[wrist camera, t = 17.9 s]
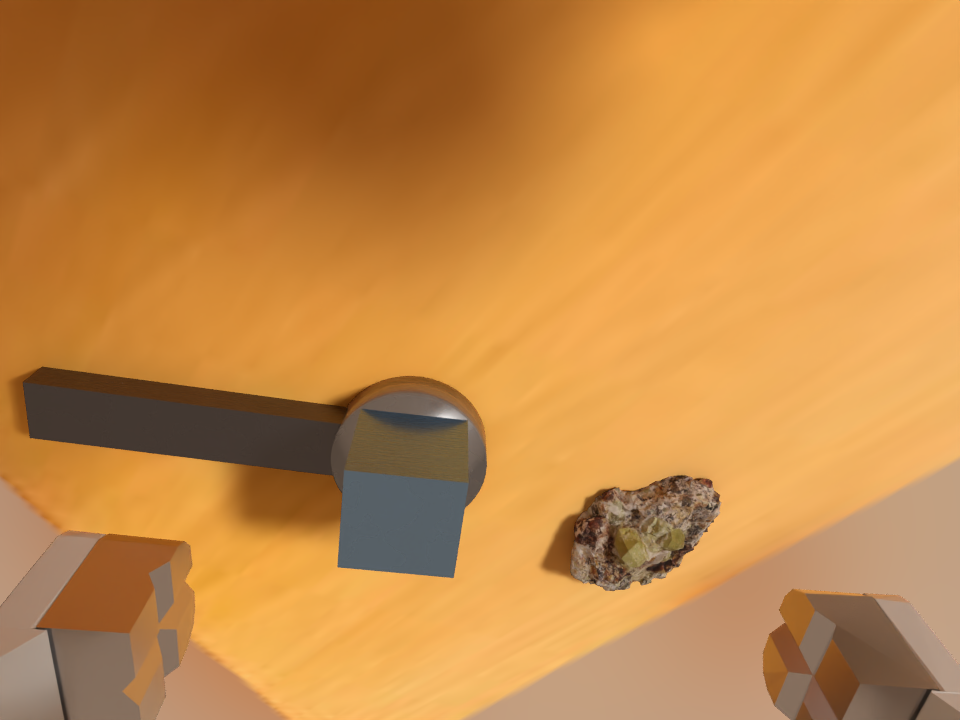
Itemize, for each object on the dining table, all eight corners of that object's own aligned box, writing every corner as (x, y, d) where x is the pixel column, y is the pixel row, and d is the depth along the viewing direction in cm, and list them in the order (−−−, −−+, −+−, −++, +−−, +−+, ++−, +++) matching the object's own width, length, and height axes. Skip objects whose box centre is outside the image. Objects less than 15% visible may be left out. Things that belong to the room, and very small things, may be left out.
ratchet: (52, 457, 43) (-13, 526, 37) (37, 323, 39) (-38, 375, 33) (472, 509, 45) (474, 581, 39) (497, 386, 41) (502, 446, 35)
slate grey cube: (468, 420, 39) (468, 483, 34) (454, 506, 42) (453, 577, 36) (360, 408, 39) (344, 470, 33) (354, 496, 41) (337, 567, 36)
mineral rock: (620, 627, 47) (558, 582, 42) (597, 574, 50) (537, 526, 45) (759, 543, 44) (709, 485, 40) (725, 493, 48) (676, 434, 43)
